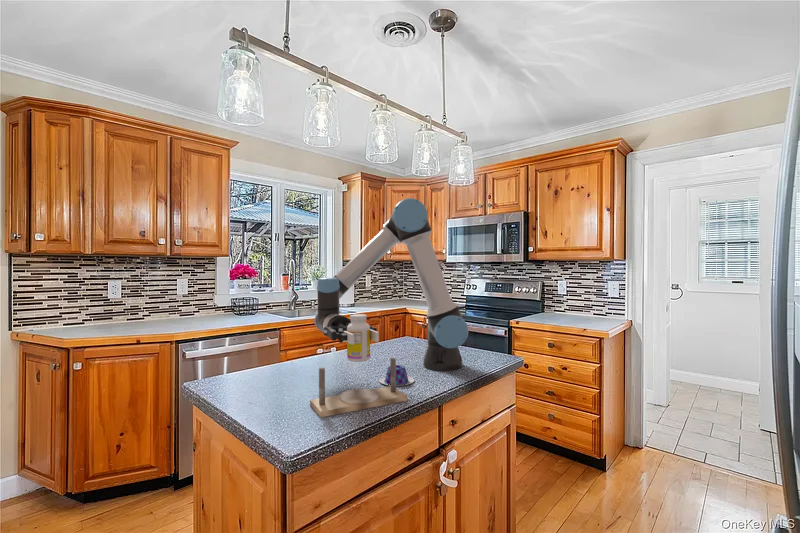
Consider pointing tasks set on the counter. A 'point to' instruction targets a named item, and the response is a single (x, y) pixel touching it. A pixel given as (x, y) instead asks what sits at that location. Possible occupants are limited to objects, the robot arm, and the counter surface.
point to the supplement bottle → (359, 339)
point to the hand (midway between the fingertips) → (365, 338)
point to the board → (356, 396)
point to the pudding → (397, 376)
